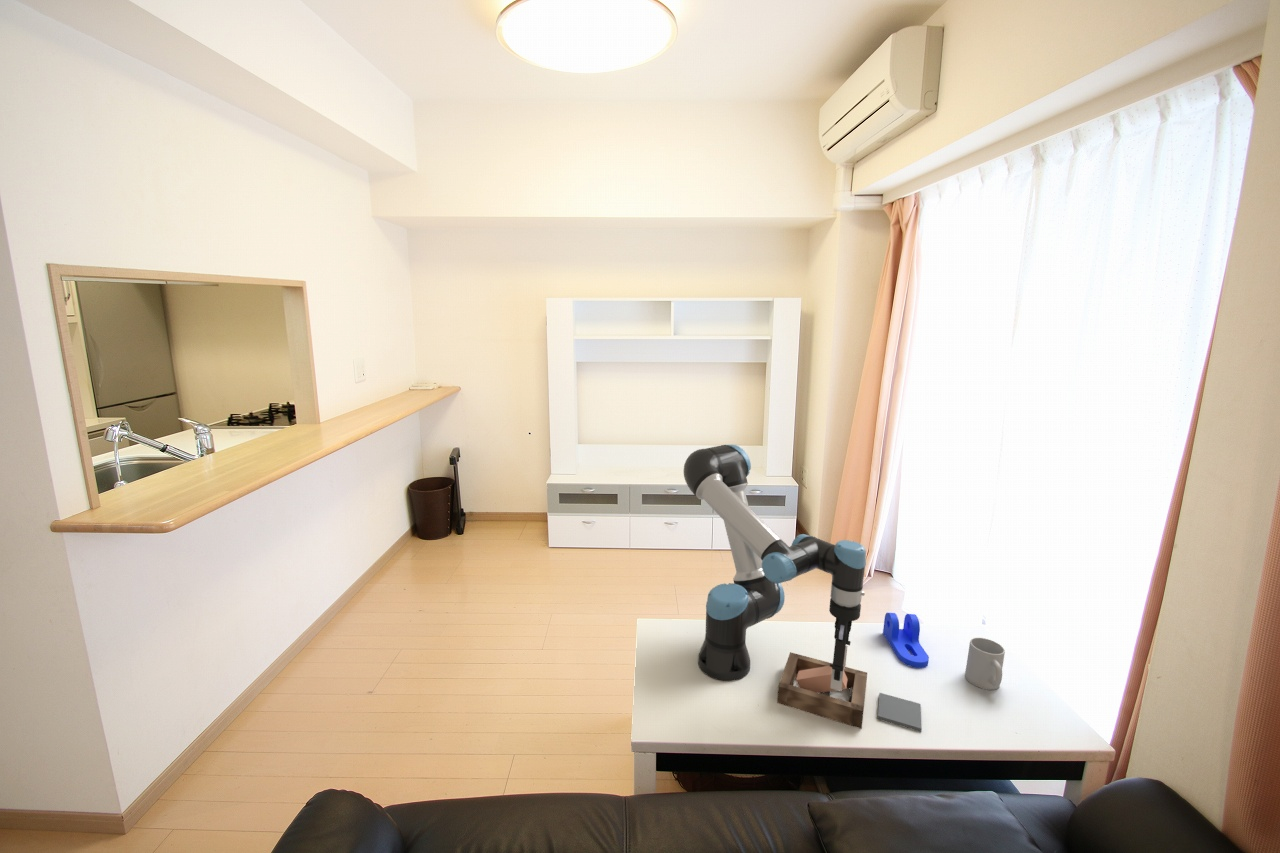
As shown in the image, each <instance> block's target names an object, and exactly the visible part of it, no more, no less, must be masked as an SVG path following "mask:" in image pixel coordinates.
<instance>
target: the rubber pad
mask: <svg viewBox="0 0 1280 853" xmlns="http://www.w3.org/2000/svg"><path fill="white" fill-rule="evenodd" d="M921 706H922V705H921V703H920V702H916V701H911V700H908V699H904V698H900V697H897V696H892V695H890V694H886V693H883V692H879V694H878V707H877V709H878V710H877V720H880V721H882V722H886V723H889V724H893V725H896V726H900V727H903V728H906V729H910V730H912V731H913V730H914V731H916V732H920V733H921V732H922V729H923V728H922V725H923V724H922V707H921Z"/></svg>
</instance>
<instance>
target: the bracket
mask: <svg viewBox="0 0 1280 853" xmlns="http://www.w3.org/2000/svg"><path fill="white" fill-rule="evenodd" d="M903 619H904V620H903V627H902V628H900V621H899V620H900V619H899V617H898V615H897V614H896V612H886V613H885V615H884V621H883V627H882V628H883V629H882V634H883V636H884V637H885V640H887V643H888V644H889V646H890V647H891V649H892V651H893V652H894V654H895V655H896V657H897V658H898V660H899V661H900V662H901V663H902V664H904V665H906V666H908V667H912V668H915V669H924V668H926V667H928V665H929V659H930V657H929V655H928V653H927V652H926V651H925V649H924V648H923V646H922V645H921V643H920V631H921V626H920V625H921V624H920V620H919V618H918V616H917V614H914V613H906V614H905V616H904V618H903Z"/></svg>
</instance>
